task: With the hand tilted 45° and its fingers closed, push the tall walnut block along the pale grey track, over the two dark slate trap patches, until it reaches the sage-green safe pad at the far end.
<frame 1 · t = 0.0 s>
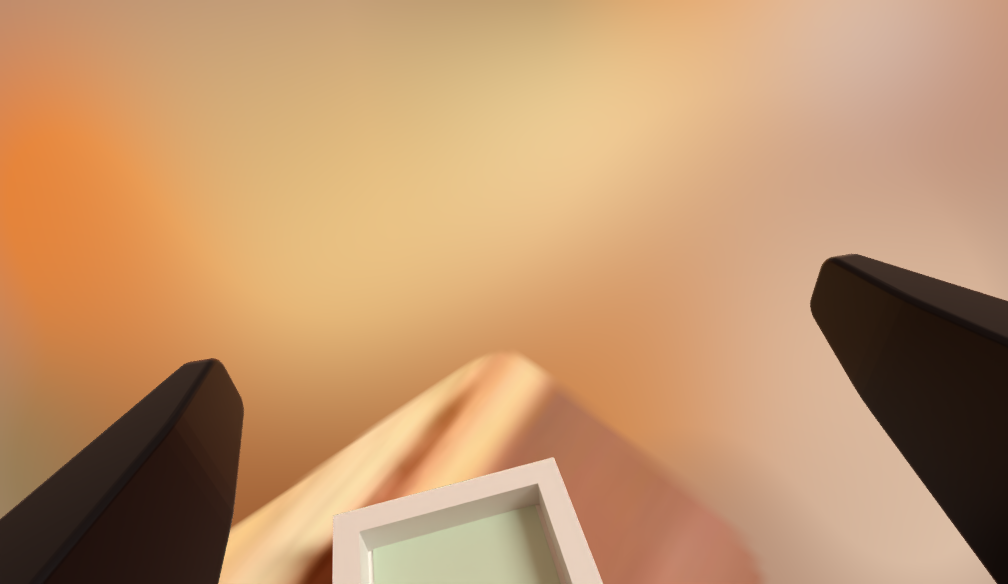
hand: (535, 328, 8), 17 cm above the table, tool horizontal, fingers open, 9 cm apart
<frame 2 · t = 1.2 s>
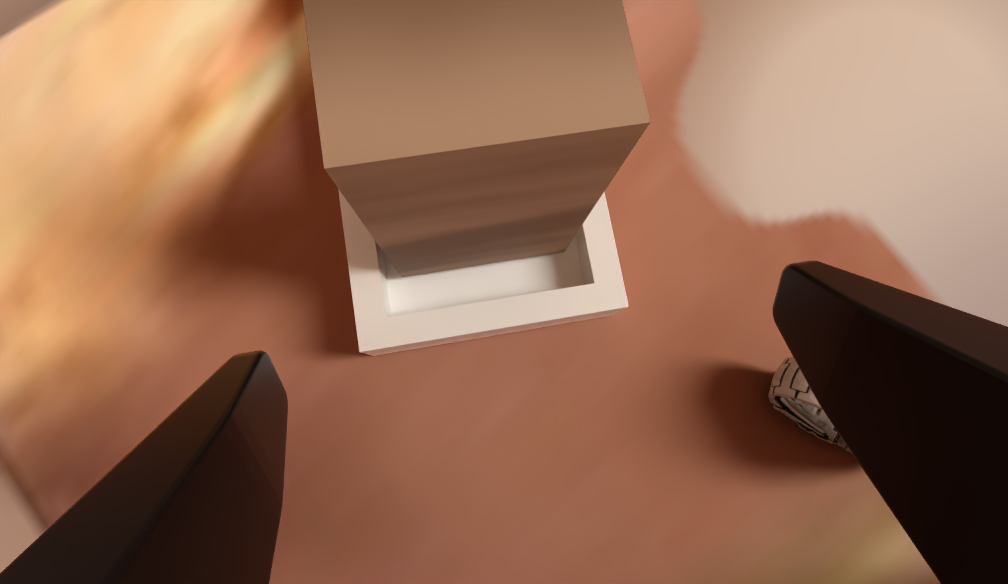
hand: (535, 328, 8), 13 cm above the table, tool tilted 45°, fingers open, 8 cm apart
walnut block: (474, 156, 15), point 6 cm above the table, slide at 0.0 cm
wristwatch: (818, 411, 21), on the table
trap track: (459, 129, 22), on the table
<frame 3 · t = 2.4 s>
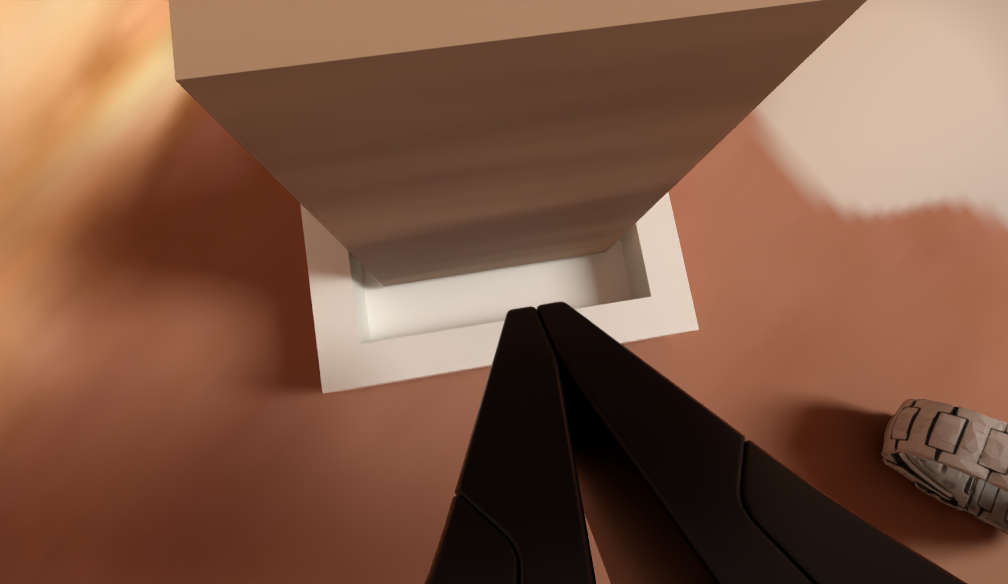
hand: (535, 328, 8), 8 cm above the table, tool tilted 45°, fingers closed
walnut block: (489, 107, 10), point 6 cm above the table, slide at 0.0 cm
wristwatch: (938, 464, 16), on the table
trap track: (463, 89, 17), on the table
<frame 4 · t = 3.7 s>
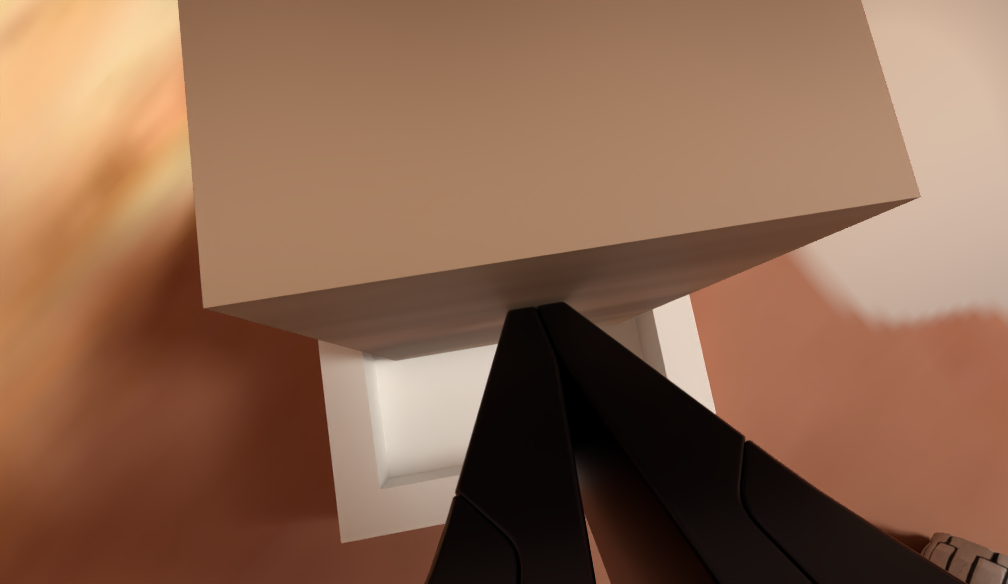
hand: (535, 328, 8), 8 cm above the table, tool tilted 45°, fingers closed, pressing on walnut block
walnut block: (506, 210, 10), point 6 cm above the table, slide at 1.4 cm, touching gripper
trap track: (480, 196, 16), on the table
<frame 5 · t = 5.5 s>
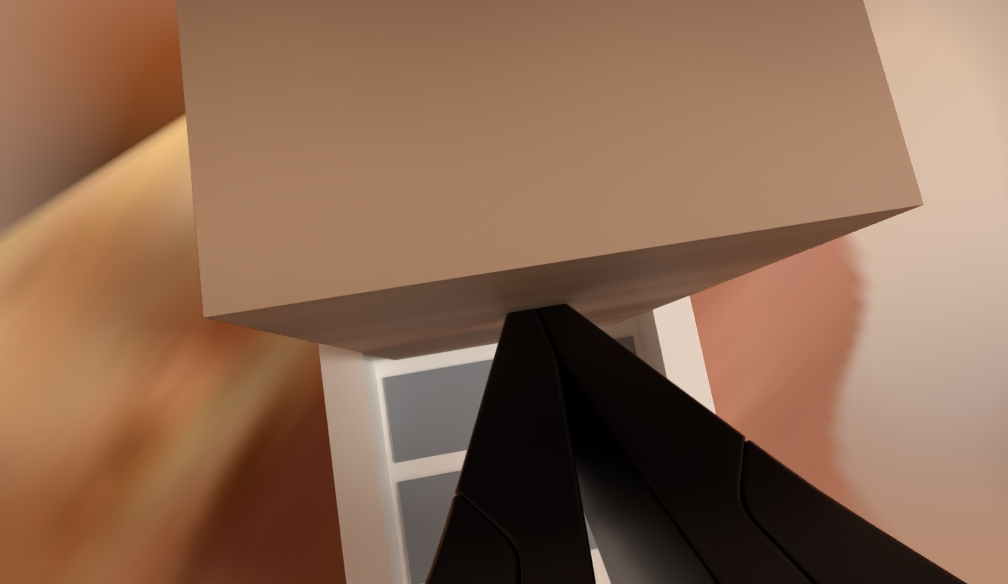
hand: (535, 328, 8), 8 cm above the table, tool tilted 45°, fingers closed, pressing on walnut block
walnut block: (506, 211, 10), point 6 cm above the table, slide at 9.4 cm, touching gripper
trap track: (526, 464, 15), on the table
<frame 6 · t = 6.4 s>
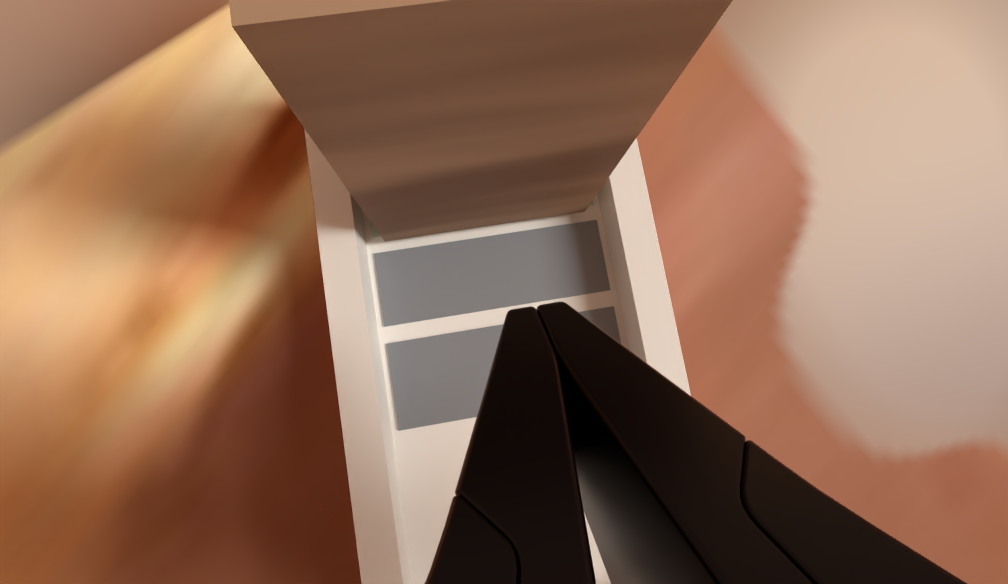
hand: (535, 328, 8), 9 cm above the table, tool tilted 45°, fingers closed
walnut block: (475, 71, 11), point 6 cm above the table, slide at 9.2 cm
trap track: (501, 336, 17), on the table
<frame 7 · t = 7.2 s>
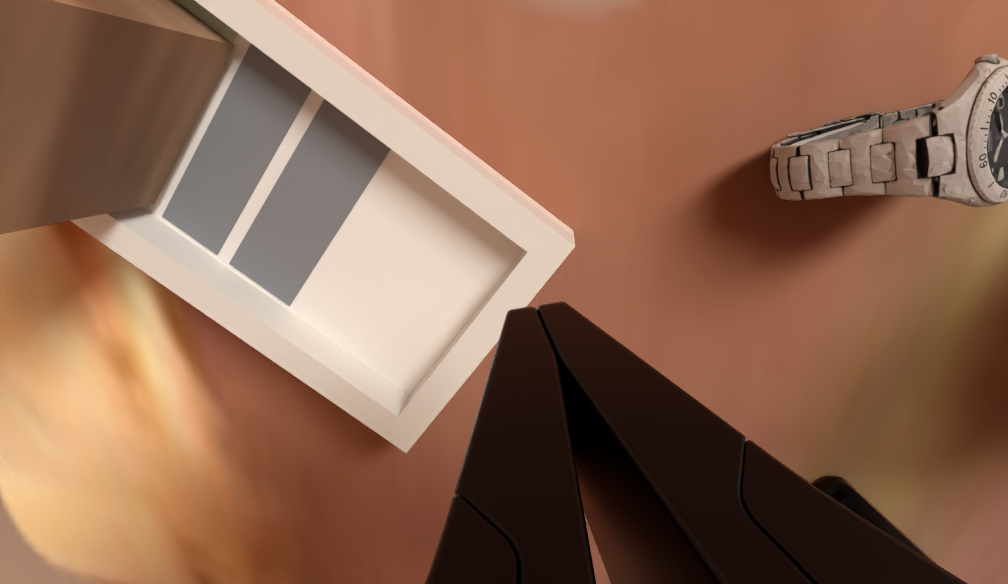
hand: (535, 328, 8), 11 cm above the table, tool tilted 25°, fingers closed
wristwatch: (849, 140, 17), on the table
trap track: (297, 186, 19), on the table
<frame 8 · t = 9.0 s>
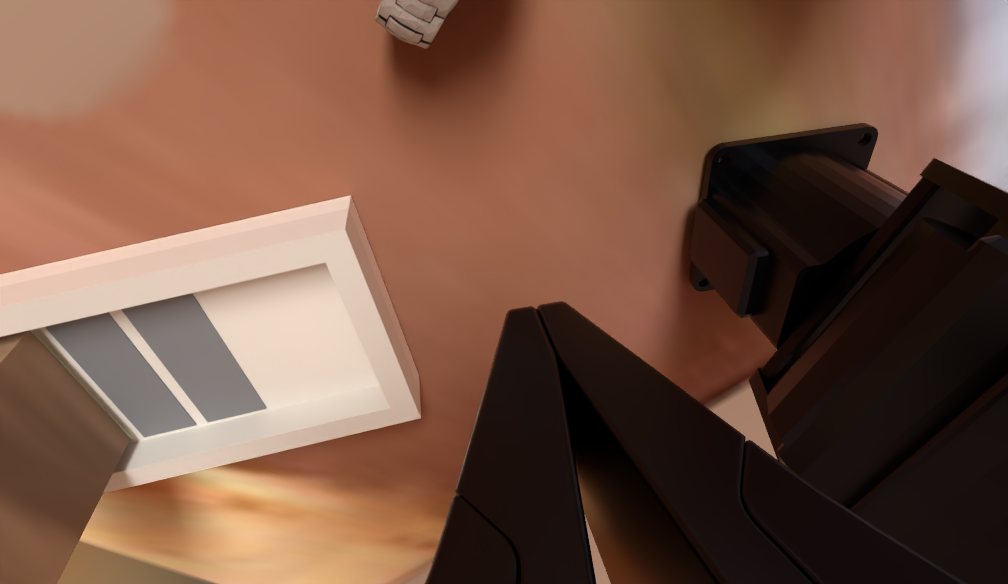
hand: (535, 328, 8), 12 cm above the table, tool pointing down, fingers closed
trap track: (180, 345, 22), on the table
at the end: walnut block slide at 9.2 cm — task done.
